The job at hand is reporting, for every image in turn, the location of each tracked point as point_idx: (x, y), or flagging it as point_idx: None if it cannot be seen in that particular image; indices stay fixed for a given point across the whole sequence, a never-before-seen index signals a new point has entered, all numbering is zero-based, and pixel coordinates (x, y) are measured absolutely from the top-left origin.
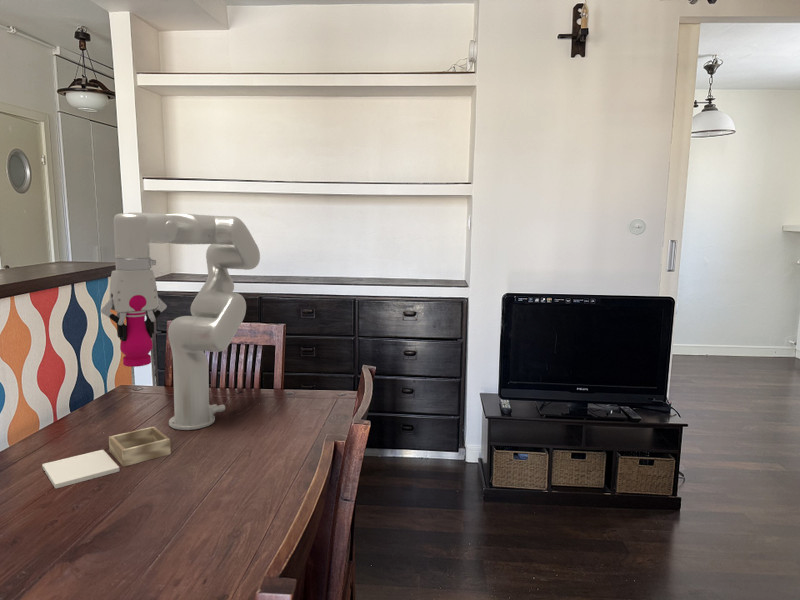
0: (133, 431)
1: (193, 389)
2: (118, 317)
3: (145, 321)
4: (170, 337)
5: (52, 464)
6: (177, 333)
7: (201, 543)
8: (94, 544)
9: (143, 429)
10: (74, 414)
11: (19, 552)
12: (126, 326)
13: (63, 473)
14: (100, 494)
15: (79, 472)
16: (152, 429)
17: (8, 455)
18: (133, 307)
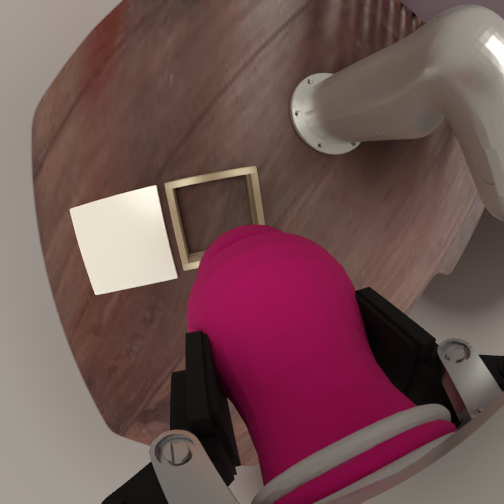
0: (213, 176)
1: (370, 139)
2: (191, 492)
3: (410, 366)
4: (435, 62)
5: (82, 217)
6: (467, 93)
7: (241, 434)
8: (158, 413)
9: (233, 174)
10: None
11: (100, 398)
12: (246, 425)
13: (100, 262)
14: (153, 333)
15: (121, 270)
16: (250, 175)
17: (33, 131)
18: None
